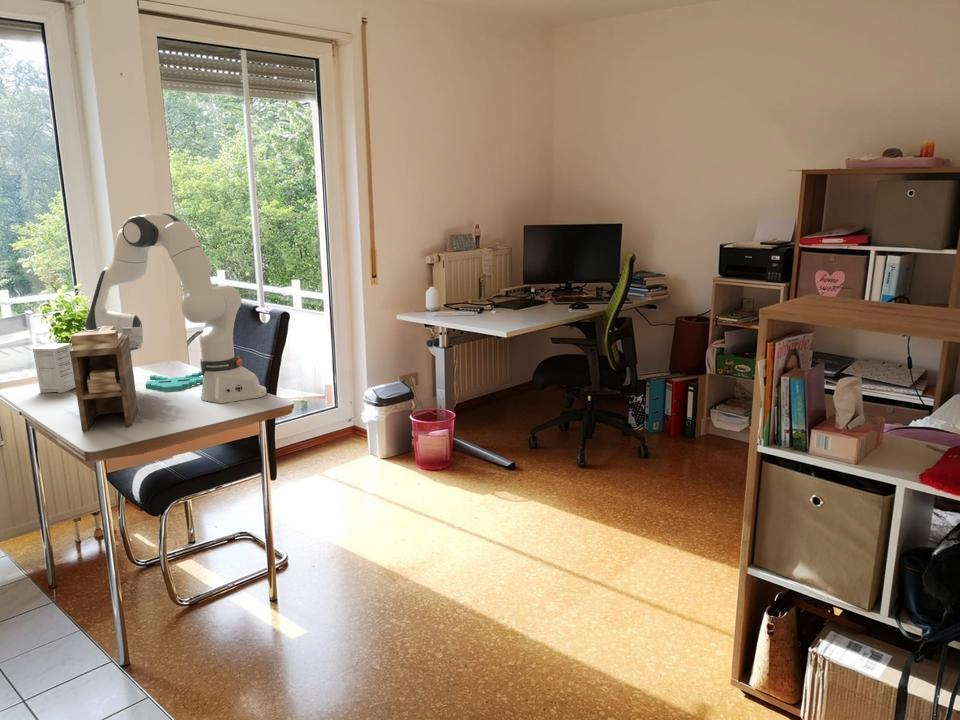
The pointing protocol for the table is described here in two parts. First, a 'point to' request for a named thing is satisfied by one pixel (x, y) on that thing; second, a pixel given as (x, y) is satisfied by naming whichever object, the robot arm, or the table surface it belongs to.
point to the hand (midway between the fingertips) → (107, 328)
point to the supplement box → (54, 367)
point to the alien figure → (173, 382)
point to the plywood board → (120, 336)
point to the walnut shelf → (104, 382)
